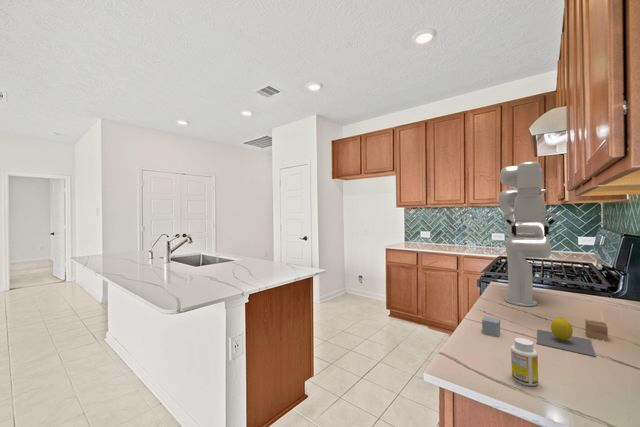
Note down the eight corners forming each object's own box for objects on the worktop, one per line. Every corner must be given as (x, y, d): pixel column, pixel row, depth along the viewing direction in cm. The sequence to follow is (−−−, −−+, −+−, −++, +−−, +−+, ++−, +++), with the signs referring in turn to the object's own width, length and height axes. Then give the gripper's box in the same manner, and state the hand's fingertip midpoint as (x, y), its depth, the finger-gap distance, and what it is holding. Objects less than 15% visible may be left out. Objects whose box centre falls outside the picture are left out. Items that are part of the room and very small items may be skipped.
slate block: (484, 329, 104) (484, 315, 104) (500, 332, 101) (500, 318, 101) (482, 333, 100) (482, 320, 100) (498, 337, 97) (498, 323, 97)
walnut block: (585, 332, 99) (585, 319, 99) (605, 336, 96) (605, 322, 96) (587, 337, 96) (586, 323, 96) (607, 341, 92) (607, 327, 92)
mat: (537, 330, 102) (537, 329, 102) (590, 340, 93) (590, 339, 93) (536, 344, 91) (536, 343, 91) (596, 357, 82) (596, 356, 82)
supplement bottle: (532, 376, 73) (531, 337, 74) (542, 388, 68) (541, 347, 68) (508, 372, 75) (507, 335, 75) (516, 385, 70) (515, 344, 70)
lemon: (577, 345, 89) (576, 320, 89) (557, 343, 91) (556, 319, 91) (565, 337, 95) (565, 314, 95) (547, 336, 96) (546, 313, 96)
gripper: (557, 192, 107) (558, 236, 107) (504, 195, 118) (504, 234, 118) (557, 191, 102) (558, 237, 101) (502, 194, 112) (502, 235, 112)
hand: (529, 236), depth 110 cm, fingers open, 9 cm apart
